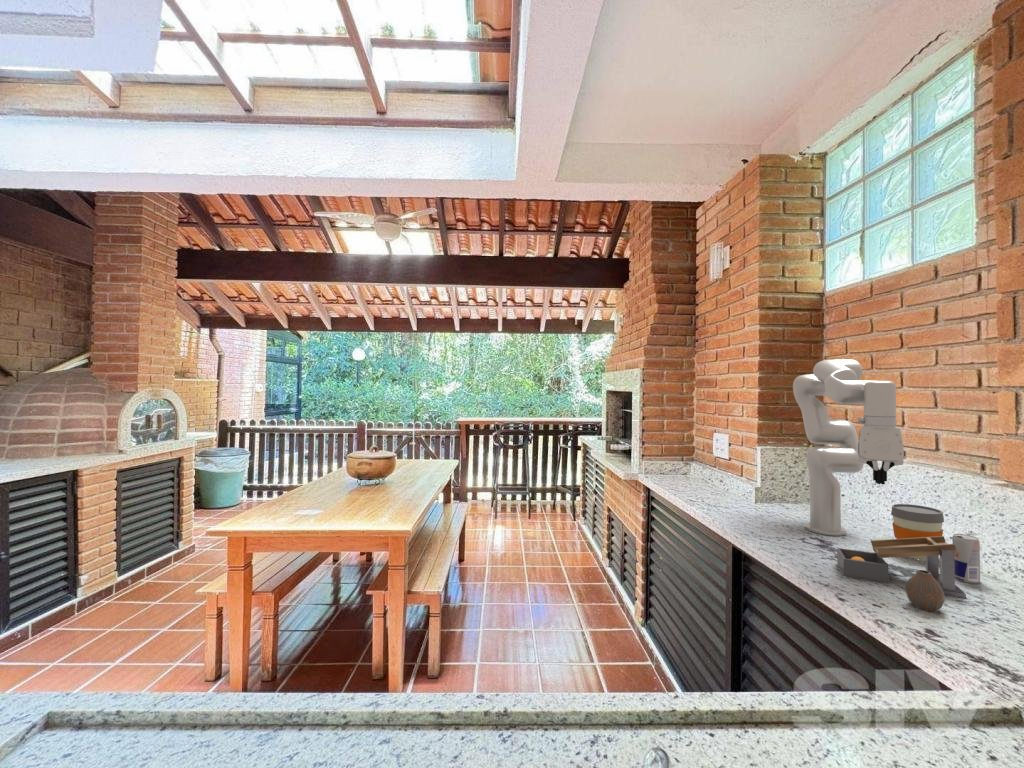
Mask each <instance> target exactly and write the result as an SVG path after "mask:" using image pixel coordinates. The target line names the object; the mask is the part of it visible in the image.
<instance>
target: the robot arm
mask: <svg viewBox="0 0 1024 768" xmlns="http://www.w3.org/2000/svg"><path fill="white" fill-rule="evenodd" d="M862 377H863V365H861V364H860V362H859V361H858V360H856V359H845V358H844V359H824V360H821V361H819V362H817V363H815V365H814V366H813V371H812V373H809V374H808V373H807V374H802V375H801V374H800V375H798V376H797V377H795V379H793V384H792V393H793V397H794V399H795V401H796V404H797V405H798V407H799V409H800V411H801V415H802V419H803V426H804V430H805V435H806V438H807V440H808V441H809V442H810V443H811V444H816V445H818V446H814V447H810V448H809V449H808V450H807V451H806V457H805V458H806V464H807V469H808V475H809V476H808V479H809V522H808V523H805V527H804V528H805V530H807V531H809V532H813V533H815V534H819V535H823V536H824V535H825V536H834V537H835V536H836V537H838V536H839V537H840V536H845V535H846V534H847V530H846V528H843V527H842V516H841V515H842V513H841V512H842V510H841V506H842V504H841V502H842V500H841V494H842V493H841V485H840V482H839V480H838V478H836V477H835V476H834V473H842V474H843V473H847V474H848V473H849V474H852V473H853V474H854V473H859V472H861V471H862V470H863V469H864V464H865V465H868V466H869V467H870V468H871V469H872V480H873V481H874V482H875V483H876V484H877V485H883V486H884V485H885V483H886V482H887V481H888V471H889V470H890V469H892V468H893V467H895V466H902V465H904V457H905V451H904V443H903V436H902V431H901V428H900V427H898V426H897V386H896V383H895V382H893V381H890V380H863V379H862ZM861 379H862V380H861ZM816 396H827V397H828V398H829V399H830V400H832V401H833V402H835V403H837V404H841V405H863V416H862V417H857V423H862V424H863V425H860V429H859V434H858V432H857V430H856V427H855V425H854V424H853V423H852V422H851V421H849V420H845V419H832V418H831V417H830V415H829V411H828V408H827V407H826V405H825V404H824V403H823V402H822V401H821V400H819V399H818V397H816ZM819 445H820V446H819ZM823 445H826V446H823ZM831 445H837V446H831ZM878 461H880V462H881V464H880V465H881V466H880V468H879V464H878Z"/></svg>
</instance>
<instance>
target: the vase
mask: <svg viewBox="0 0 1024 768" xmlns="http://www.w3.org/2000/svg"><path fill="white" fill-rule="evenodd" d="M905 593H906V596H907V599H908V600H909V602H910V603H911V604H912V605H913V606H914V607H916V608H917V609H919V610H921V611H927V612H936V611H938V610H940V609H941V608H942V607H943V606H944V603H945V595H944V592H943V589H942V587H941V586H940V584H939V583H938V582H937V581H936V580H935V579H934V577H933V576H932V574H931V573H930V572H929V571H926V569H918V571H917V573H916V572H915V573H914V575H912V576H910V578H908V579H907V581H906V585H905Z"/></svg>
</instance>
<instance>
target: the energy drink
mask: <svg viewBox="0 0 1024 768" xmlns="http://www.w3.org/2000/svg"><path fill="white" fill-rule="evenodd" d="M951 539H952V544H955V547H956V550H957V554H954V560H955V580H957V581H960V582H963V583H967V584H974V585H975V584H979V583H981V549H980V548H981V542H980V540H979V538H978V536H977V537H976V536H974V535H969V534H963V533H953V535H952V538H951Z"/></svg>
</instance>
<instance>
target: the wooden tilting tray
mask: <svg viewBox="0 0 1024 768" xmlns="http://www.w3.org/2000/svg"><path fill="white" fill-rule="evenodd" d="M870 544H871V547H872V550H873V551H874V553H876V554H877V555H878V556H879V557H880V558H883V559H884V558H891V559H892V558H905V557H906V558H908V557H911V556H930V555H939V556H940V549H943V550H951V551H953V552H954V554H957V550H956V547H955V544H953V543H948V542H947V541H946V539H945V536H944V535H942V536H935V537H919V538H904V539H897V538H894V539H893V537H890V536H887V537H886V536H885V537H875V538H874V537H873V538H872V537H870Z"/></svg>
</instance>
